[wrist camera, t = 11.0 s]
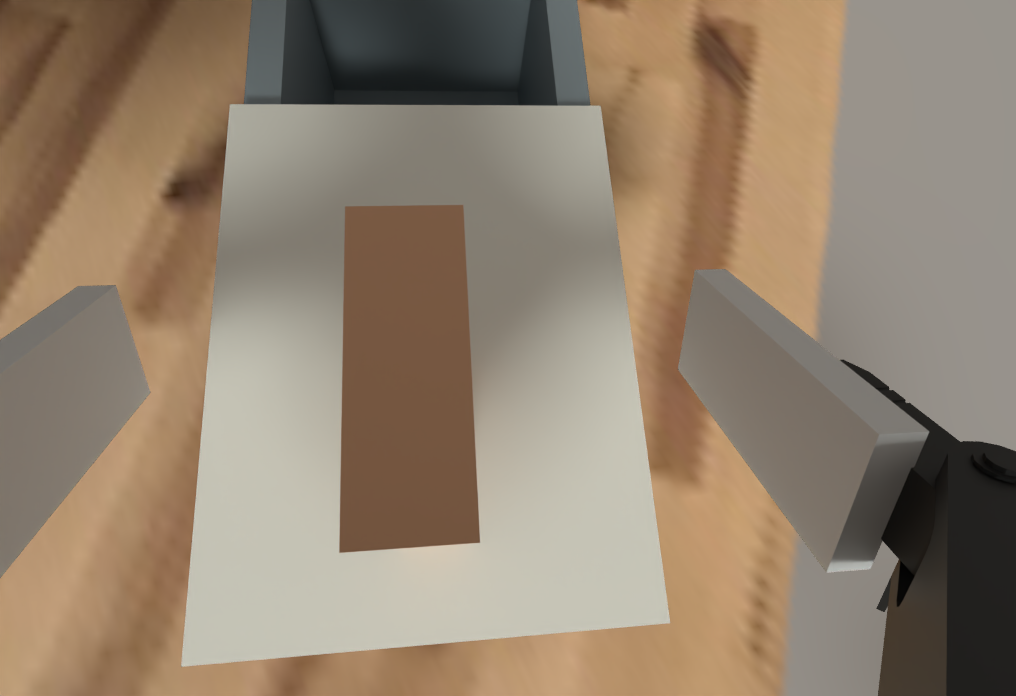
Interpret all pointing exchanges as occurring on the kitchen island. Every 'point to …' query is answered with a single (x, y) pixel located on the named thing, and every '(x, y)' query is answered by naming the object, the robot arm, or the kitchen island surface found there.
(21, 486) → the robot arm
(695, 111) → the kitchen island surface
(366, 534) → the lid
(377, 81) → the carton
